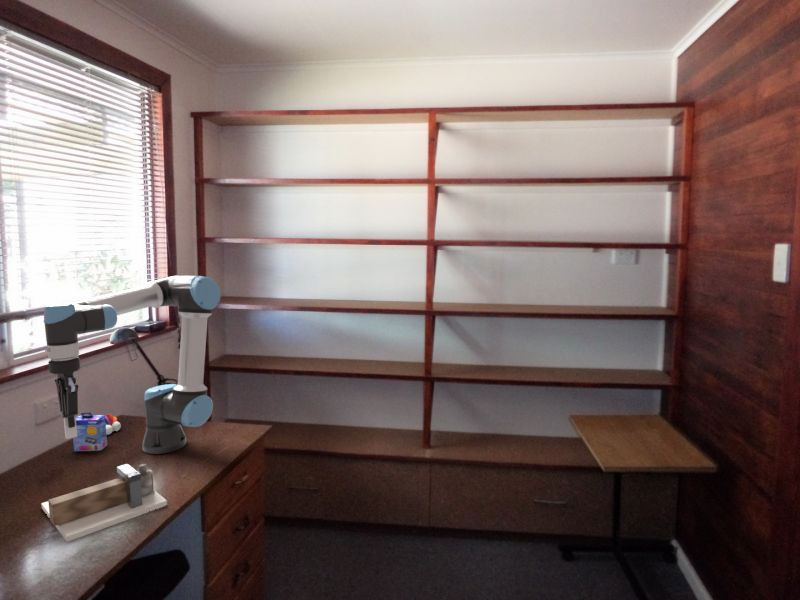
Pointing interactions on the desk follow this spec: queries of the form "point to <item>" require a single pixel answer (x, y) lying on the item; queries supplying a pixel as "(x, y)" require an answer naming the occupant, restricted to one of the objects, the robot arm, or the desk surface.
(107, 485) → the link
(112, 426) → the multicoloured rounded cluster
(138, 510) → the board
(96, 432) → the ink cartridge box
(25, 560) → the desk surface
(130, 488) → the bracket
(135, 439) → the desk surface
